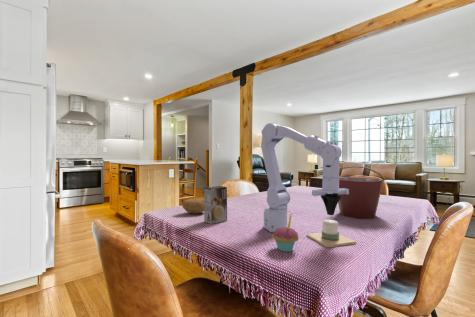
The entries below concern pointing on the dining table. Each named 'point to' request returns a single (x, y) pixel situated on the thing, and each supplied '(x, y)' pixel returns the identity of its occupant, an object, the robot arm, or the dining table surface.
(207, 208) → the coffee box
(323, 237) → the beige square tray
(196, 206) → the potato
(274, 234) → the cupcake
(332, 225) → the cap
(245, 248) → the dining table surface
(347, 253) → the dining table surface
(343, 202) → the bucket
